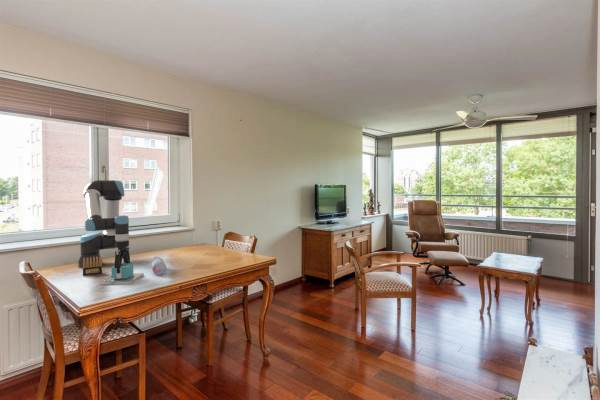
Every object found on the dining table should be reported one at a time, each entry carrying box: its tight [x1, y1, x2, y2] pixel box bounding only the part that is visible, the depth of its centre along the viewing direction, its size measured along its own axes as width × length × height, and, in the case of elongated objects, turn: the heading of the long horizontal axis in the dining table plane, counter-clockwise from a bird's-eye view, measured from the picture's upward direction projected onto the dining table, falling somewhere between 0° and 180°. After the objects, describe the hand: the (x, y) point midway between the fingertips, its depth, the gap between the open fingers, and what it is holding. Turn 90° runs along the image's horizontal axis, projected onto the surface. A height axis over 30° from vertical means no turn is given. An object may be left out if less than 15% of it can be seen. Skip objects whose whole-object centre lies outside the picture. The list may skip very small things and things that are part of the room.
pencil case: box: [149, 256, 167, 276], centre depth 211 cm, size 21×9×10 cm, turn 30°
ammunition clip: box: [82, 255, 103, 277], centre depth 204 cm, size 11×2×12 cm, turn 123°
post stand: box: [99, 262, 144, 286], centre depth 193 cm, size 18×18×10 cm
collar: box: [110, 262, 134, 279], centre depth 193 cm, size 9×9×7 cm
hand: (122, 275), depth 193 cm, fingers closed on collar, 9 cm apart
